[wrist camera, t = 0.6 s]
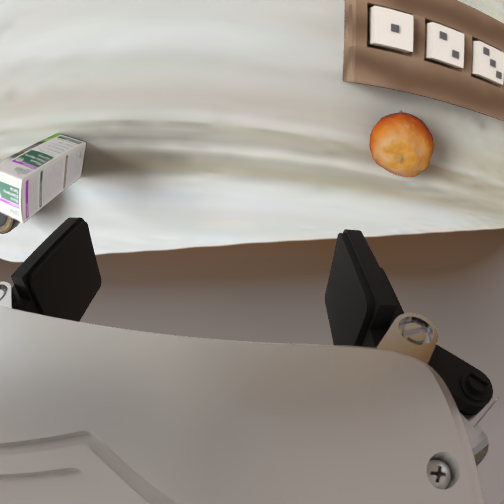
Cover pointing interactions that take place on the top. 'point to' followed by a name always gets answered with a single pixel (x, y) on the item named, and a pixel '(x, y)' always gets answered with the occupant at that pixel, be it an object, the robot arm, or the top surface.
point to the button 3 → (487, 62)
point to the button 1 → (390, 29)
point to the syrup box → (39, 175)
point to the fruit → (401, 144)
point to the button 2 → (444, 45)
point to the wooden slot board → (413, 63)
